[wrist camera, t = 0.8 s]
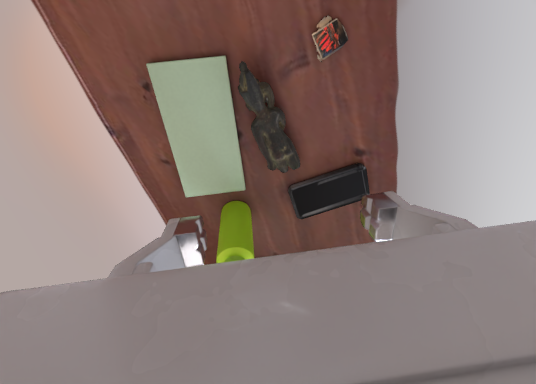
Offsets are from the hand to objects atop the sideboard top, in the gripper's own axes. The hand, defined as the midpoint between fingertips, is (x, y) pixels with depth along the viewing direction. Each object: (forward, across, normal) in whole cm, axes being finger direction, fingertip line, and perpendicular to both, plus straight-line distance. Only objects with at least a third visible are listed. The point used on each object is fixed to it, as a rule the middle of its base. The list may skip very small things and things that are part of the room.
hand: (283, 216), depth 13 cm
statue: (+32, -2, +1) cm, 32 cm away
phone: (+33, -13, +16) cm, 39 cm away
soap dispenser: (+34, +6, +19) cm, 39 cm away
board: (+32, +9, +2) cm, 33 cm away
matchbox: (+31, -12, -10) cm, 35 cm away
